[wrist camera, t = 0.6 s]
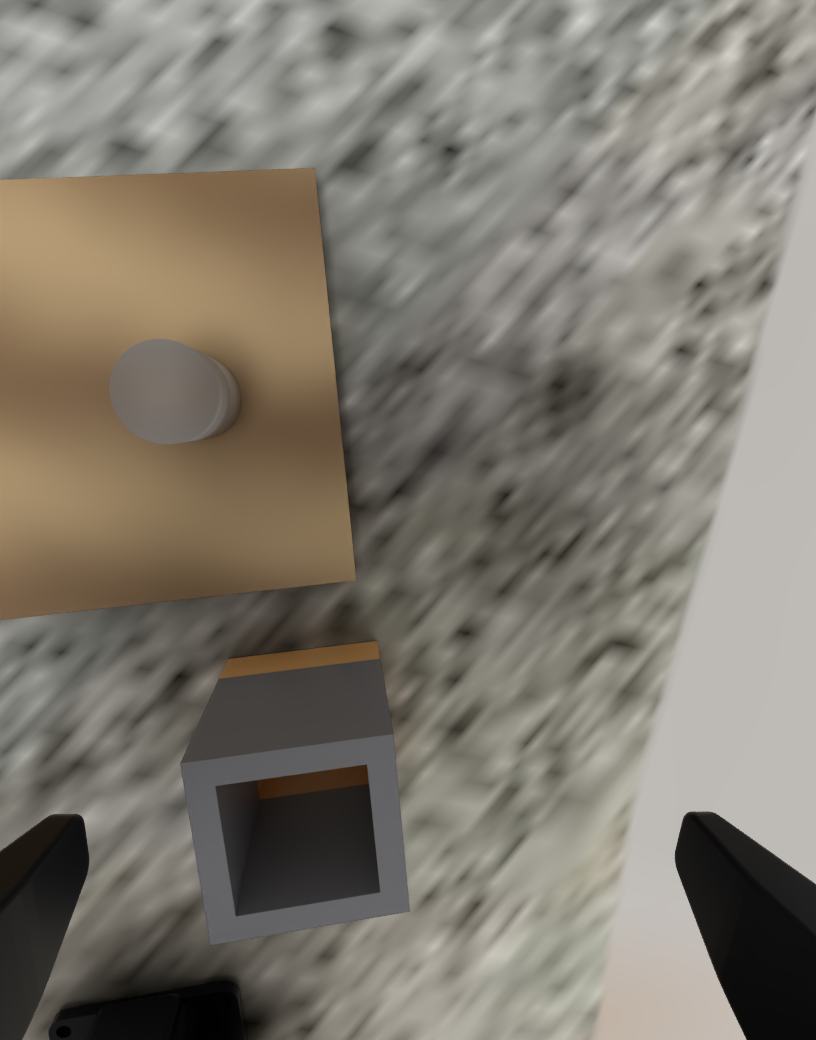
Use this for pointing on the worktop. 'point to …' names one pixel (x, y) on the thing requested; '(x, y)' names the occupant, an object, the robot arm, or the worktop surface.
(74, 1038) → the robot arm
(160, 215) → the pin board
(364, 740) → the sleeve
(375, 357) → the worktop surface
